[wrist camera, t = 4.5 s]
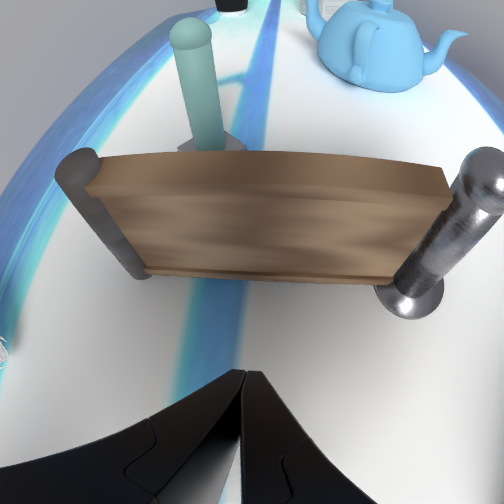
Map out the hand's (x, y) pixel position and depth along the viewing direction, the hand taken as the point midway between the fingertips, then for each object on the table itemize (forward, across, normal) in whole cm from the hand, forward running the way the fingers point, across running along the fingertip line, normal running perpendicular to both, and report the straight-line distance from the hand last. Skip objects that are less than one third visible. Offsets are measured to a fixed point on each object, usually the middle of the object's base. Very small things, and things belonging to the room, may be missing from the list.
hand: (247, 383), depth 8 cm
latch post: (+18, -5, +7) cm, 20 cm away
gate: (+10, -1, 0) cm, 10 cm away
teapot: (+31, +11, +19) cm, 38 cm away
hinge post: (+11, +9, -1) cm, 14 cm away
